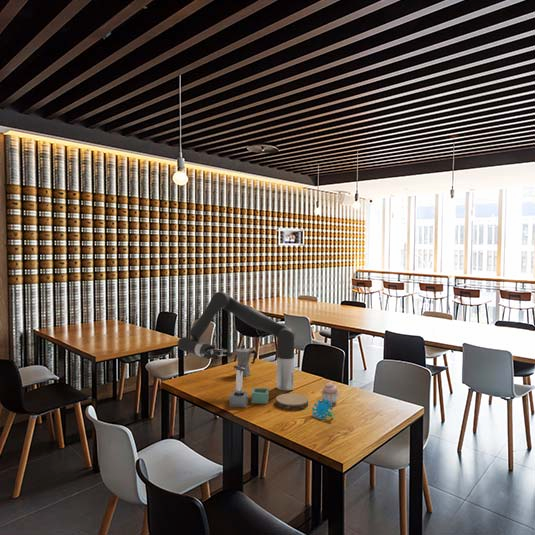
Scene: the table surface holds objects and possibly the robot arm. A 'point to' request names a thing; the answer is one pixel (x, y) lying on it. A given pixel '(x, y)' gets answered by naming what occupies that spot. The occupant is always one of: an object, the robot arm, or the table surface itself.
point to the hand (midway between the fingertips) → (224, 356)
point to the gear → (323, 409)
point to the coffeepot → (245, 359)
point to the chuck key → (239, 379)
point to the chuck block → (238, 399)
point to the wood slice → (292, 401)
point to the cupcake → (330, 393)
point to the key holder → (260, 395)
